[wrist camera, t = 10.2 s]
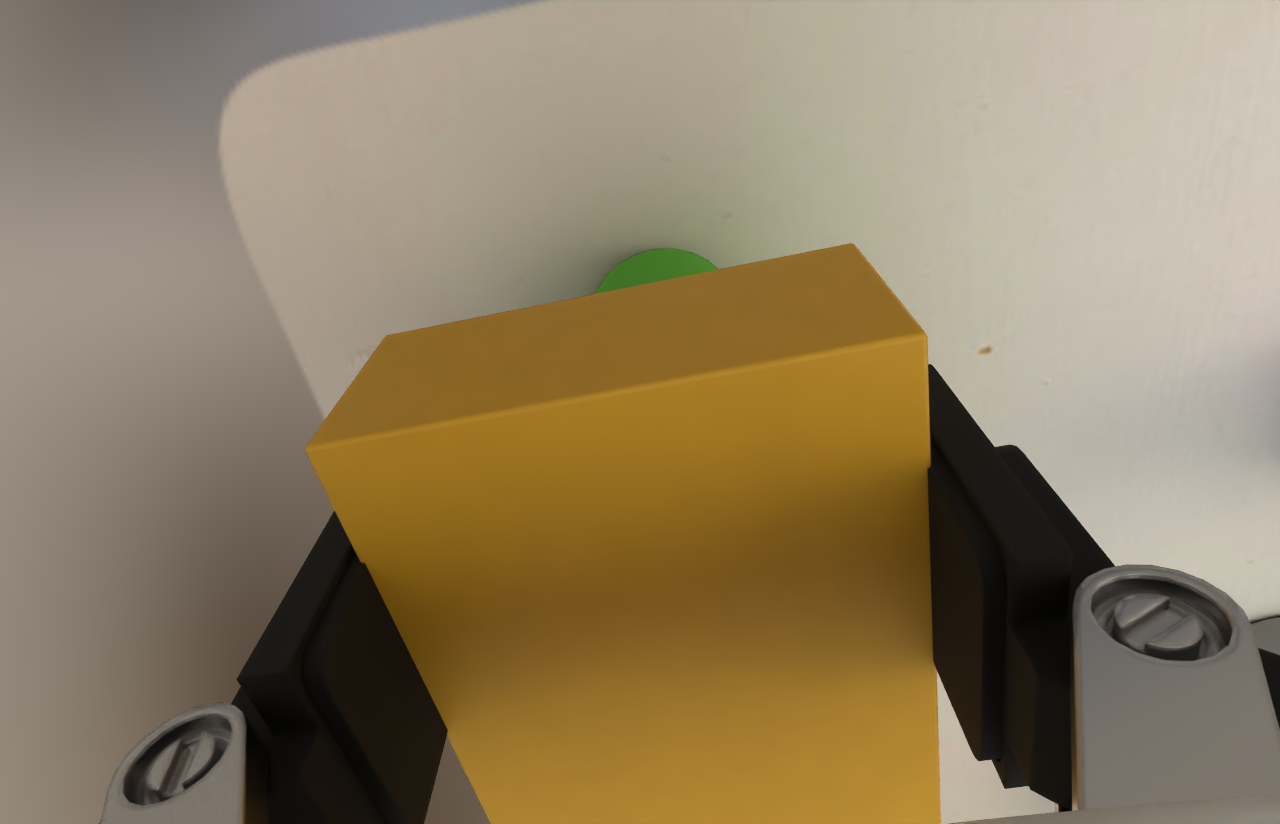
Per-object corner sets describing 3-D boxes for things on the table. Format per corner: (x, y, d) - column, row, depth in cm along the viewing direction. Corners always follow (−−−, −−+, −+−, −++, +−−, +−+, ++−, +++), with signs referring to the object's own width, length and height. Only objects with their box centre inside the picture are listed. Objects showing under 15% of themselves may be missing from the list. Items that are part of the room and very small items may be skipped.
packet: (384, 334, 11) (285, 469, 8) (854, 240, 10) (943, 350, 7) (611, 896, 17) (605, 1082, 15) (900, 862, 17) (954, 1050, 14)
